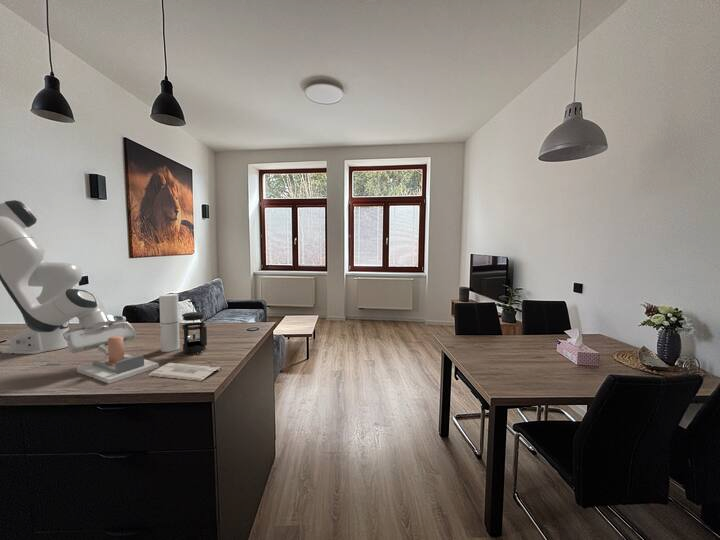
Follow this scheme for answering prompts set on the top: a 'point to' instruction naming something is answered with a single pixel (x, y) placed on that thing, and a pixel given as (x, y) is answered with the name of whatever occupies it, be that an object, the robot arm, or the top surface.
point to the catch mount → (118, 368)
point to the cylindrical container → (169, 322)
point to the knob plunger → (115, 350)
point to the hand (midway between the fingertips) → (111, 353)
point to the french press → (194, 345)
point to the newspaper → (183, 371)
